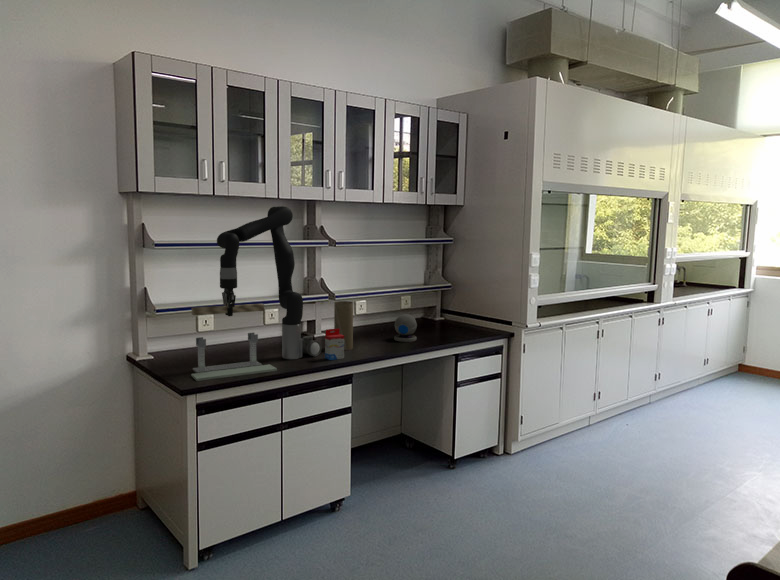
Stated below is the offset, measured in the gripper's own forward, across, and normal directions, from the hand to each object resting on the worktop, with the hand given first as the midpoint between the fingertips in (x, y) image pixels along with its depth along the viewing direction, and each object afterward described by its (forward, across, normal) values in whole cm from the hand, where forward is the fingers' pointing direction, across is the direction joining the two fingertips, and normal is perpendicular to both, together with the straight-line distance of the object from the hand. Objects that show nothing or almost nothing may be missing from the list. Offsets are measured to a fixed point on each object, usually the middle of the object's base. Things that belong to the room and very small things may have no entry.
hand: (228, 315), depth 265 cm
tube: (+25, +18, -67) cm, 74 cm away
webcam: (+25, +22, -110) cm, 115 cm away
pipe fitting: (+25, +12, -44) cm, 52 cm away
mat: (+25, -7, 0) cm, 26 cm away
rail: (-1, 0, 0) cm, 1 cm away
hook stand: (+25, +3, 0) cm, 25 cm away
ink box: (+25, -2, -52) cm, 58 cm away
